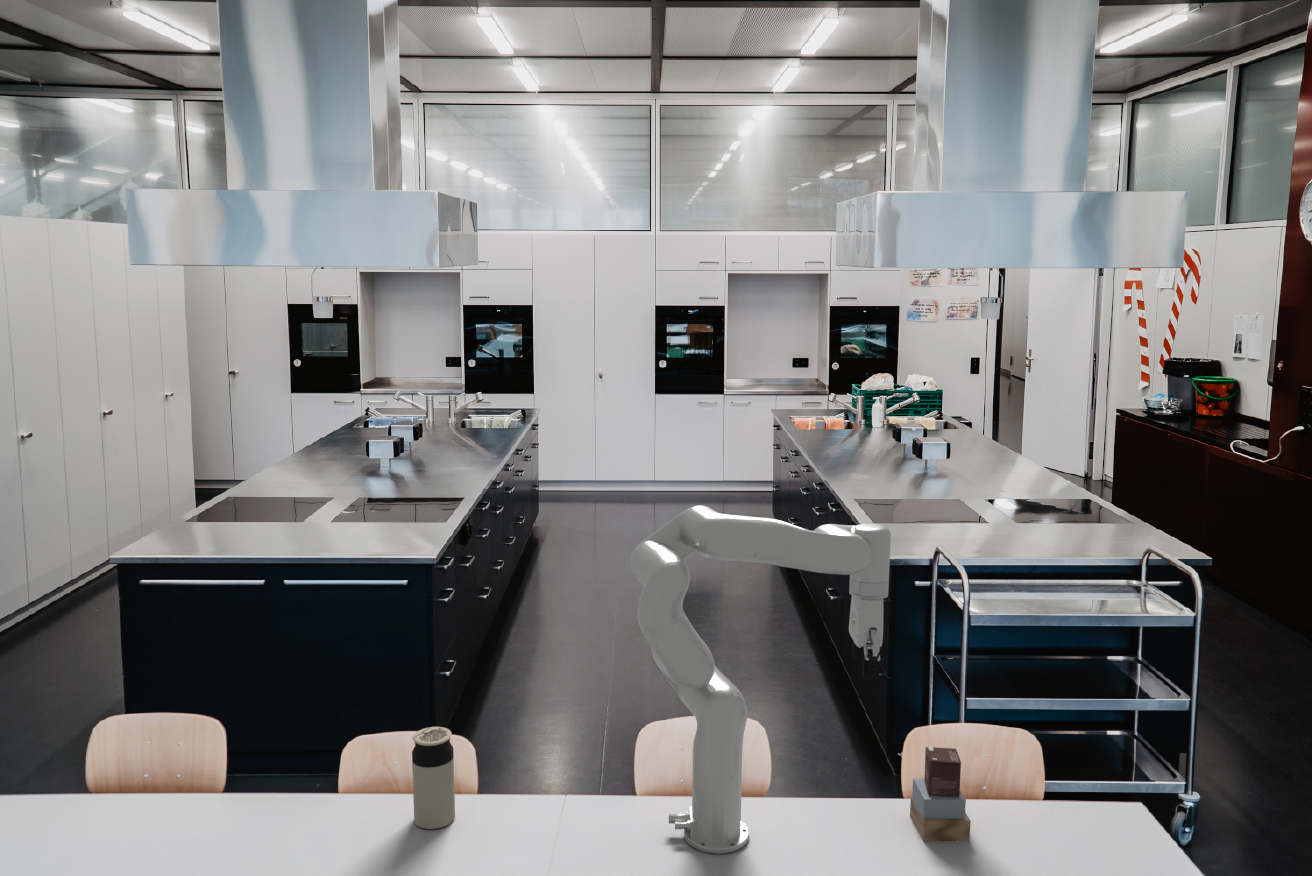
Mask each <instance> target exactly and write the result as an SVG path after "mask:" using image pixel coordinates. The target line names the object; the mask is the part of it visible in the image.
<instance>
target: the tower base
mask: <svg viewBox="0 0 1312 876" xmlns="http://www.w3.org/2000/svg"><path fill="white" fill-rule="evenodd" d="M909 808H910V809H909V817H910V819H911V821H912V823H913V825H914V827H915V828H916V831H917V832H918V834H919V836H920V838H921V840H922V842H932V843H933V842H970V837H971V836H970V835H971V821H972V820H971V819H970V817H969V816H968V814H967V813H966V812H965V819H923V817H922V815H921V813H920V811H919V809H918V807H917V805H916V803H915V801H914V799H913V797H912V796H910V806H909Z"/></svg>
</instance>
